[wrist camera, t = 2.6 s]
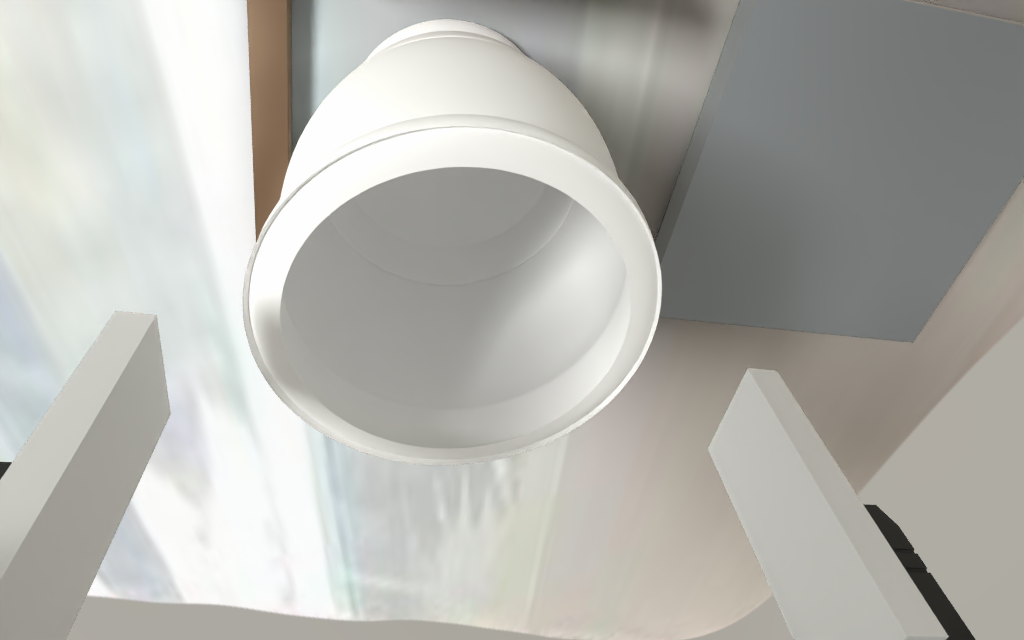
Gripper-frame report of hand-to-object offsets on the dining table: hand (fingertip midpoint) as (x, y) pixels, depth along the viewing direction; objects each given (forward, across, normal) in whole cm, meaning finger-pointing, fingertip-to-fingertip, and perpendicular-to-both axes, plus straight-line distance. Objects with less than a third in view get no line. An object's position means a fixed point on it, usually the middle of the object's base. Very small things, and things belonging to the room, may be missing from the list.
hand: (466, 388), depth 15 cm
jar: (+17, 0, 0) cm, 17 cm away
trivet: (+17, +19, 0) cm, 25 cm away
